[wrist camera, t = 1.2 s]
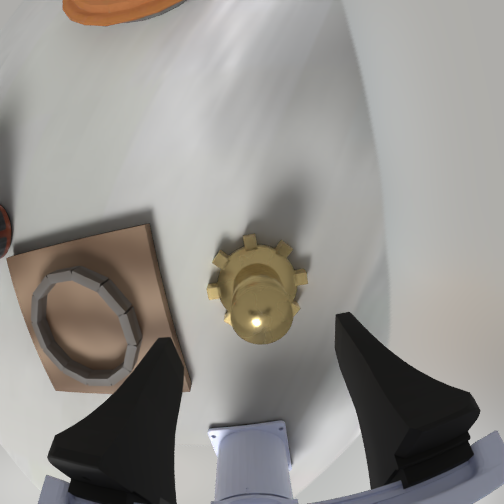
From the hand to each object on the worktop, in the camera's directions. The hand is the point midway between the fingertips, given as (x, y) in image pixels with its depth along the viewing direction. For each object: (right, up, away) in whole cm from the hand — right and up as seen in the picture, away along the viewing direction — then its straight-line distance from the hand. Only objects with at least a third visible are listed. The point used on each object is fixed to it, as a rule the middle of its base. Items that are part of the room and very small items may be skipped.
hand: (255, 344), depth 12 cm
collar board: (-15, -2, +11) cm, 19 cm away
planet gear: (0, +2, +11) cm, 11 cm away
